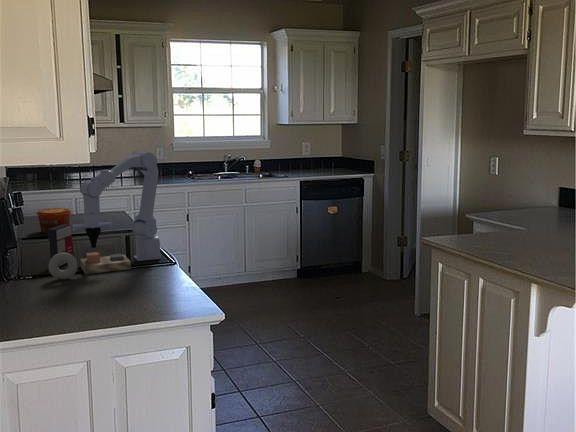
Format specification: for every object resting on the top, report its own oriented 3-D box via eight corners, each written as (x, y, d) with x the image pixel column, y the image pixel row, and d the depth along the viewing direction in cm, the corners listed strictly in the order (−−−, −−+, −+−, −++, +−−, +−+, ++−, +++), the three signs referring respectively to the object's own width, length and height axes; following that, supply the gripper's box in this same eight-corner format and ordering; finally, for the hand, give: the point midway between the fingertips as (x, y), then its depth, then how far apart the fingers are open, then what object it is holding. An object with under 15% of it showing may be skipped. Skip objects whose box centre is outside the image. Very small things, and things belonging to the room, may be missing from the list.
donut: (78, 276, 224) (76, 250, 222) (78, 279, 221) (77, 252, 219) (49, 279, 220) (47, 252, 218) (49, 281, 217) (47, 254, 215)
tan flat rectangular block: (124, 261, 246) (124, 254, 245) (130, 268, 235) (130, 261, 235) (80, 266, 238) (80, 258, 238) (85, 273, 228) (84, 266, 227)
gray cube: (121, 263, 241) (121, 253, 241) (124, 266, 238) (123, 256, 237) (110, 264, 239) (110, 254, 239) (112, 267, 236) (112, 257, 235)
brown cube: (98, 261, 237) (97, 252, 236) (100, 264, 233) (99, 254, 233) (86, 263, 235) (86, 253, 235) (88, 265, 231) (87, 255, 231)
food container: (40, 229, 307) (39, 208, 305) (73, 228, 311) (72, 207, 309) (35, 235, 292) (33, 213, 290) (70, 234, 296) (69, 212, 294)
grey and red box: (59, 267, 236) (57, 229, 233) (49, 267, 237) (47, 229, 234) (74, 260, 247) (72, 224, 244) (65, 260, 247) (62, 224, 245)
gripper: (73, 215, 224) (75, 251, 226) (113, 212, 230) (114, 247, 233) (70, 212, 230) (72, 247, 233) (110, 210, 237) (111, 244, 239)
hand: (93, 247), depth 233 cm, fingers closed
